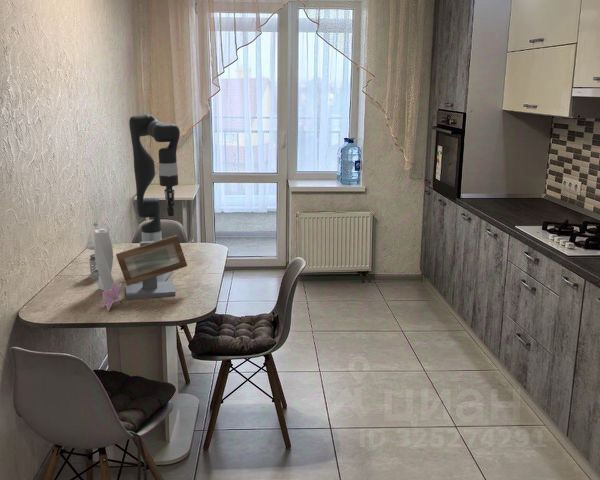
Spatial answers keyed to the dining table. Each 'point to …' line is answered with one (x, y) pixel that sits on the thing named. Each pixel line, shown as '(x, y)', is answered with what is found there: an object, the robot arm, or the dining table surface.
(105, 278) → the skyscraper
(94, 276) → the french press
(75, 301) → the dining table surface
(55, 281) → the dining table surface
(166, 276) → the play button award
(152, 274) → the picture frame
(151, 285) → the display stand
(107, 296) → the lily
